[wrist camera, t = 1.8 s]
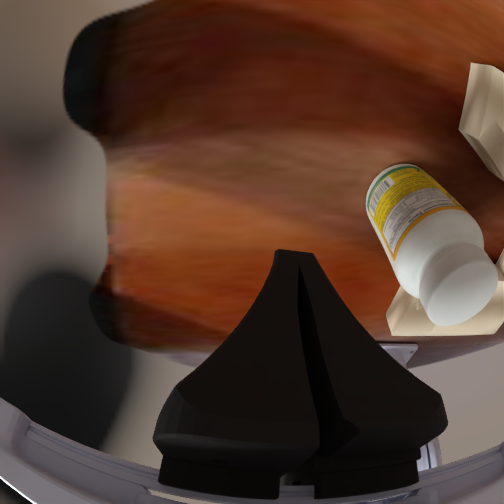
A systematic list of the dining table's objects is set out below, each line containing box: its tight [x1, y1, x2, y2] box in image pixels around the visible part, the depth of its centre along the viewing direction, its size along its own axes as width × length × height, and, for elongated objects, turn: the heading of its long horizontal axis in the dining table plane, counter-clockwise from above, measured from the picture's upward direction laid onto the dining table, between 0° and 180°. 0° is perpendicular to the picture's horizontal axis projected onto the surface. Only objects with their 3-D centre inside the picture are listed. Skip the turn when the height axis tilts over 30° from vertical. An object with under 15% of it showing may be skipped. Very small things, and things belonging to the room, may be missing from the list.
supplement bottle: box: [366, 164, 498, 326], centre depth 14 cm, size 5×5×10 cm
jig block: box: [386, 63, 504, 336], centre depth 17 cm, size 22×14×3 cm, turn 175°
